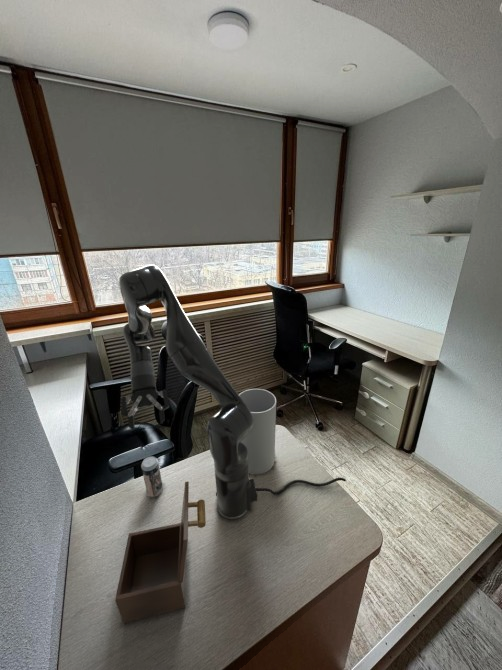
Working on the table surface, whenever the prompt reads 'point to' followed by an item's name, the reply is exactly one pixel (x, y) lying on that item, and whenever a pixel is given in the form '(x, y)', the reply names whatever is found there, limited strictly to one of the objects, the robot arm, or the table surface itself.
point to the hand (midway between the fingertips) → (147, 426)
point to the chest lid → (185, 524)
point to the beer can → (152, 476)
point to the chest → (151, 574)
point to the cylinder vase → (260, 430)
